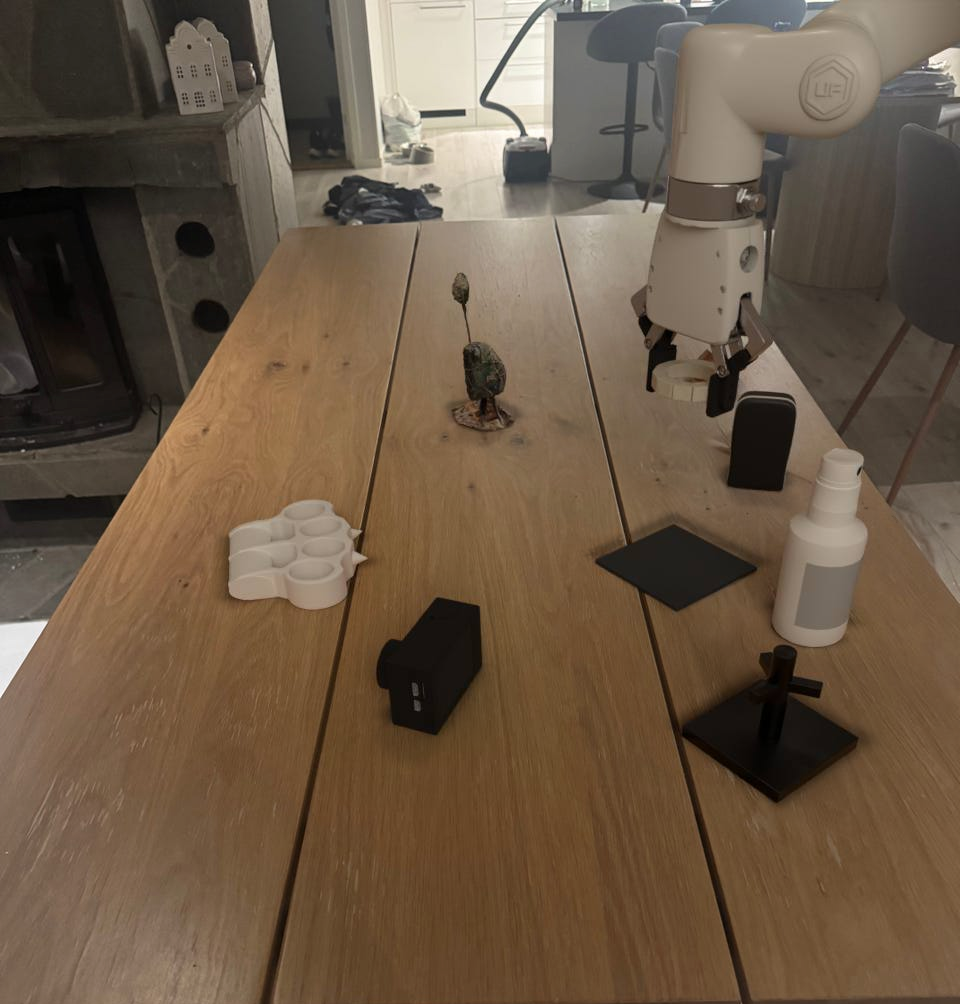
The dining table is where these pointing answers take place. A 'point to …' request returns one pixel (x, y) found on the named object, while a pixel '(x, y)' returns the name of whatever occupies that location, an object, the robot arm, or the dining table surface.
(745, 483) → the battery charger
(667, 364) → the ring
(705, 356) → the fruit slice
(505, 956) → the dining table surface
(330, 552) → the white brass knuckles
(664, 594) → the mat
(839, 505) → the spray bottle
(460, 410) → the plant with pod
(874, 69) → the robot arm
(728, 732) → the rack
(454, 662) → the digital camera
